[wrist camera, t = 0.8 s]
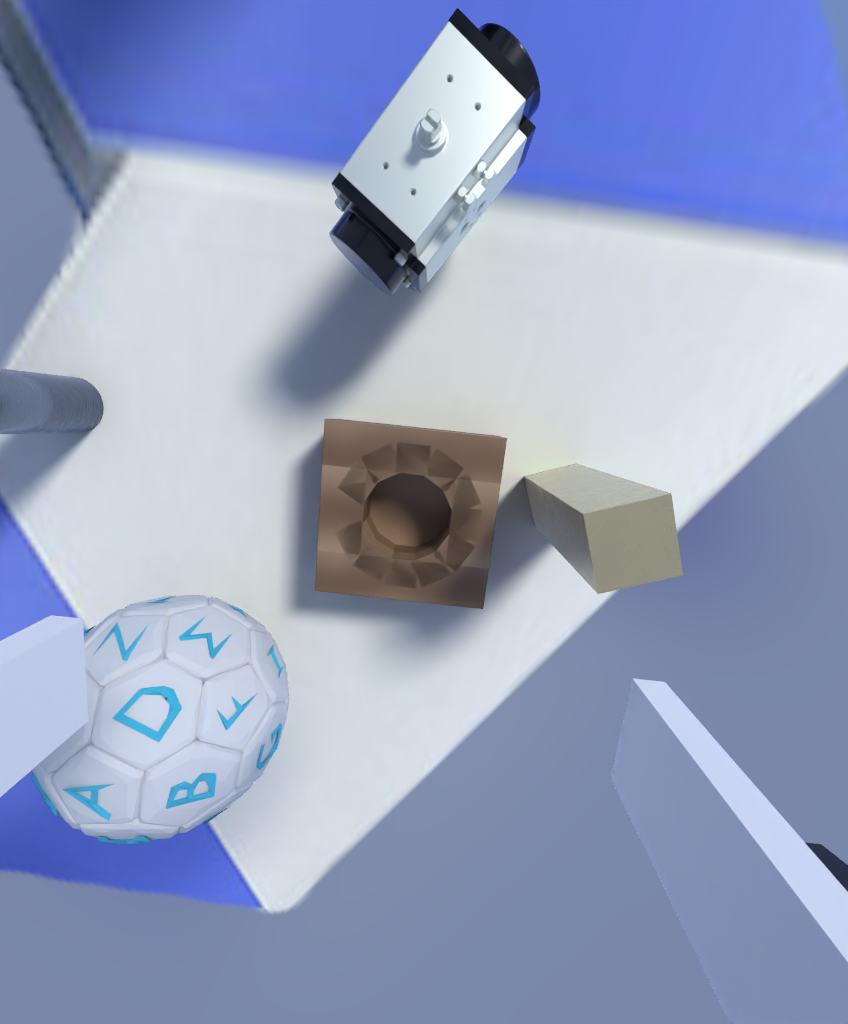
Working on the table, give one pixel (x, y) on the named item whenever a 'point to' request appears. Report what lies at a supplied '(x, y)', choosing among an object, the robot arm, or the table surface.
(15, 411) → the cylinder
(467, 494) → the bore block
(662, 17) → the table surface
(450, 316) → the table surface
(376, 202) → the pneumatic valve
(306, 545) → the table surface
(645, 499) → the square bit
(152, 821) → the puzzle ball
